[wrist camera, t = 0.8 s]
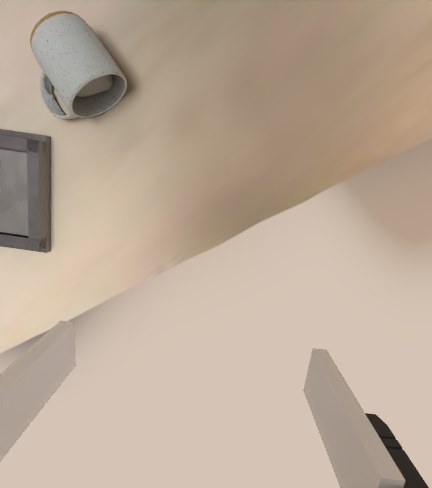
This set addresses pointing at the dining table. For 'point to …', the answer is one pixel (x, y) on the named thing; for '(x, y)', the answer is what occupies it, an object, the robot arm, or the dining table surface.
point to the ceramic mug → (75, 67)
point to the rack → (25, 191)
